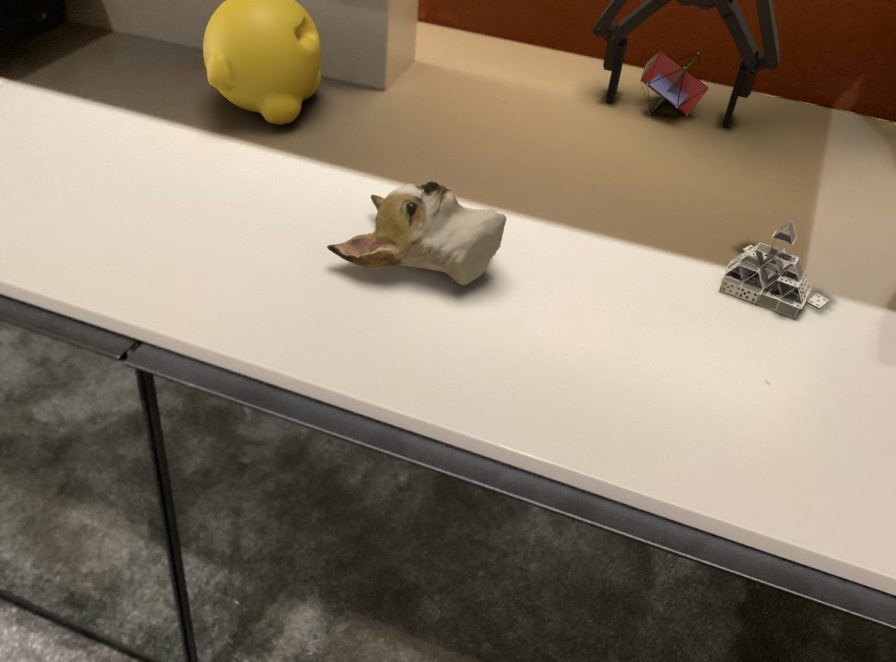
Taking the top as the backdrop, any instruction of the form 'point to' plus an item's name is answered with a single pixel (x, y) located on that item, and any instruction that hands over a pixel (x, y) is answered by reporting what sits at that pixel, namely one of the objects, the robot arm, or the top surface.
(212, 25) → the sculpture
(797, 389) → the top surface
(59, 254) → the top surface
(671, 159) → the top surface
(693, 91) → the geometric puzzle
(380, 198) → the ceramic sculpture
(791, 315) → the house of cards
